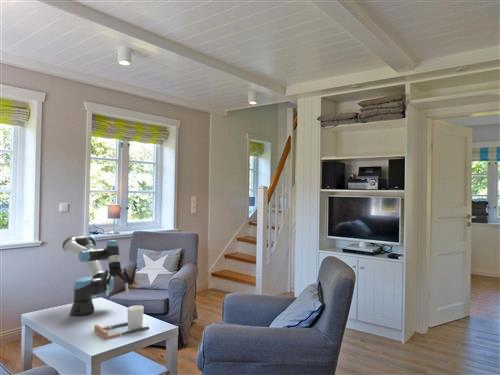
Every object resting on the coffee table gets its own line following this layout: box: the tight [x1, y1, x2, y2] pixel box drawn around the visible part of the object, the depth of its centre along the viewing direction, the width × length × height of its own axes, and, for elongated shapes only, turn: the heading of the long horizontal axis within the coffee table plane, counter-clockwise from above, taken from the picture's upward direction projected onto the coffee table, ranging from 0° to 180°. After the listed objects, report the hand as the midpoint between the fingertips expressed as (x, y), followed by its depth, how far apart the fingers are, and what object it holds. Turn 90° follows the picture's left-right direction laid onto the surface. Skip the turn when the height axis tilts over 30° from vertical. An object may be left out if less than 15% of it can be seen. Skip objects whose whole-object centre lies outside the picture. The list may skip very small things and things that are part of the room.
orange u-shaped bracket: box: [93, 324, 122, 341], centre depth 220 cm, size 16×9×4 cm, turn 43°
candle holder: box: [126, 304, 145, 330], centre depth 232 cm, size 10×10×12 cm
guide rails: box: [110, 321, 150, 336], centre depth 229 cm, size 16×17×2 cm
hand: (117, 294), depth 245 cm, fingers open, 13 cm apart
